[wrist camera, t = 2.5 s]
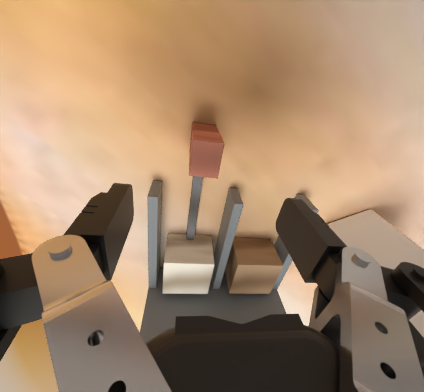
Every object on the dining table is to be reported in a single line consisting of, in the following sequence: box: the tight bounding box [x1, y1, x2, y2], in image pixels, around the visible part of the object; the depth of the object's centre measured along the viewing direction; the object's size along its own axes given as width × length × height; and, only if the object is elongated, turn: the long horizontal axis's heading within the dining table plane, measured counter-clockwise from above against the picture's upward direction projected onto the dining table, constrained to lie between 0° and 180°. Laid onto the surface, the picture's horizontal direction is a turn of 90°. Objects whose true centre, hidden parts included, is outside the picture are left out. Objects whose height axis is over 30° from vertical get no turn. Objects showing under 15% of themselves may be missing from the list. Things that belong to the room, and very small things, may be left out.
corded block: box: [162, 122, 224, 294], centre depth 23 cm, size 21×6×6 cm, turn 171°
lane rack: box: [140, 180, 319, 343], centre depth 23 cm, size 16×19×14 cm
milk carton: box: [327, 209, 424, 337], centre depth 22 cm, size 7×7×19 cm
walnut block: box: [225, 237, 283, 294], centre depth 29 cm, size 6×6×5 cm
